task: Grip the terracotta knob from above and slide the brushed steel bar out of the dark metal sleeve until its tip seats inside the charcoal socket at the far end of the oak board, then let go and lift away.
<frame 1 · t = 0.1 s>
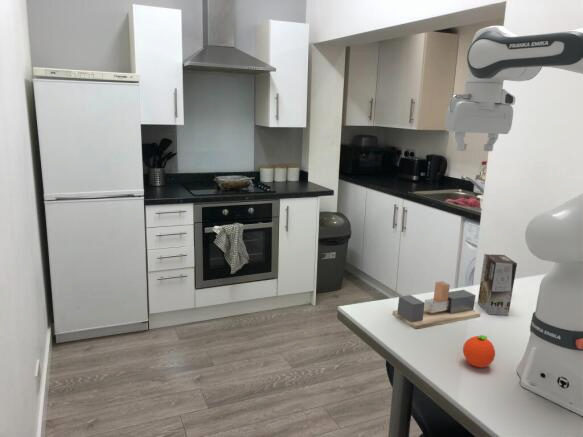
hand: (474, 151, 122), 48 cm above the table, tool pointing down, fingers open, 8 cm apart
clementine: (477, 365, 111), on the table
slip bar: (449, 295, 138), point 6 cm above the table, slide at 0.0 cm
socket block: (410, 308, 132), on the oak board, point 4 cm above the table
oak board: (436, 315, 137), on the table
coffee box: (492, 309, 144), on the table
sleeve: (457, 301, 140), on the oak board, point 3 cm above the table
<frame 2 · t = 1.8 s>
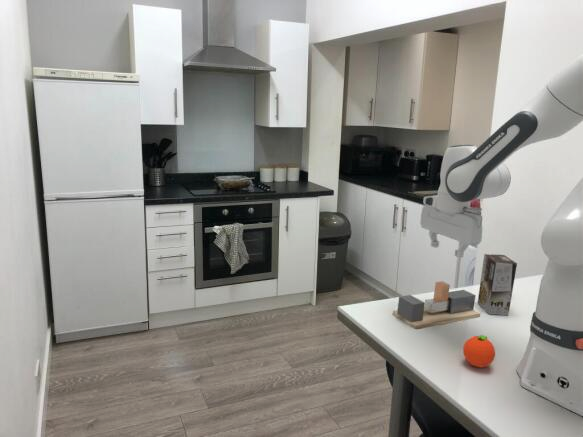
hand: (446, 251, 134), 19 cm above the table, tool pointing down, fingers open, 8 cm apart
nothing on the table moved.
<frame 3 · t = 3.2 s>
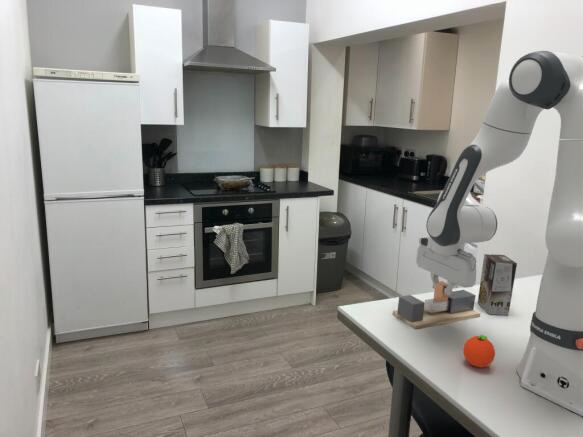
hand: (441, 291, 136), 7 cm above the table, tool pointing down, fingers closed on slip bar, 3 cm apart
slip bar: (449, 295, 138), point 6 cm above the table, slide at 0.0 cm, touching gripper
everything else where it was.
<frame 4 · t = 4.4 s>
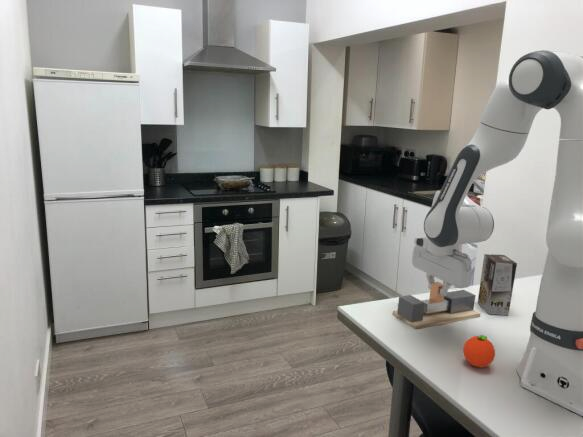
hand: (437, 292, 135), 7 cm above the table, tool pointing down, fingers closed on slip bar, 3 cm apart
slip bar: (445, 295, 137), point 6 cm above the table, slide at 1.6 cm, touching gripper
everything else where it was.
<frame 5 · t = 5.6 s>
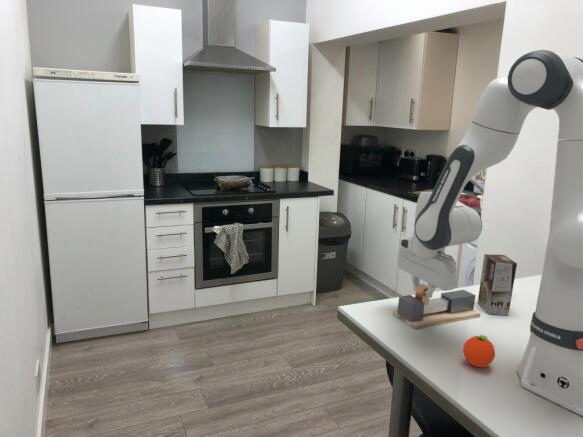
hand: (422, 294, 133), 7 cm above the table, tool pointing down, fingers closed on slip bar, 3 cm apart
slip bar: (430, 297, 135), point 6 cm above the table, slide at 7.0 cm, touching gripper
everything else where it was.
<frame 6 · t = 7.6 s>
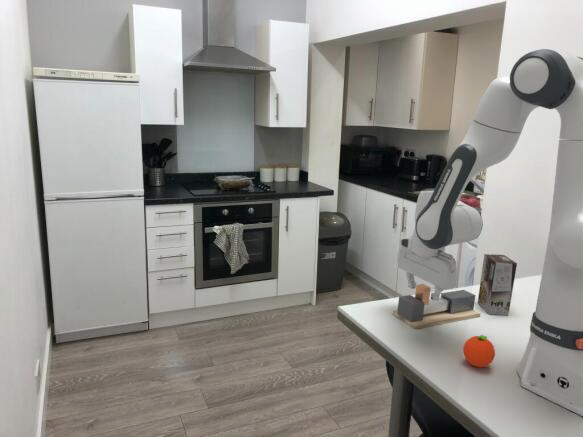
hand: (422, 293, 133), 8 cm above the table, tool pointing down, fingers open, 8 cm apart
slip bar: (430, 297, 135), point 6 cm above the table, slide at 7.0 cm
everything else where it was.
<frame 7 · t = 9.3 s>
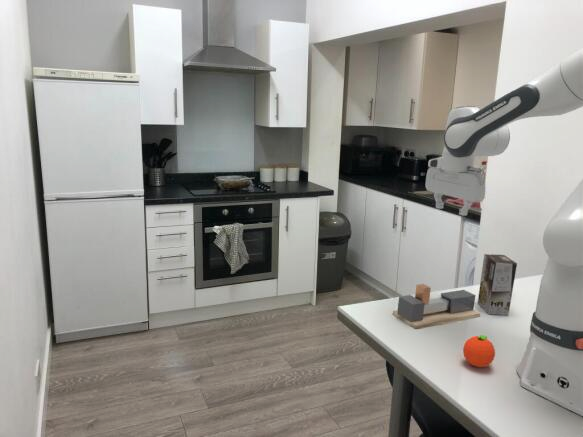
hand: (450, 211, 139), 29 cm above the table, tool pointing down, fingers open, 8 cm apart
nothing on the table moved.
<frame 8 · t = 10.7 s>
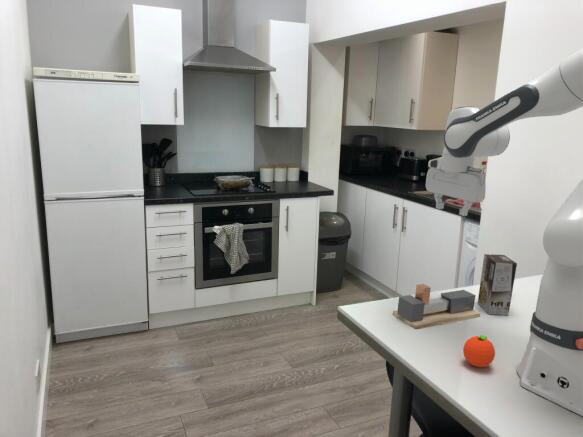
hand: (451, 211, 139), 29 cm above the table, tool pointing down, fingers open, 8 cm apart
nothing on the table moved.
at the end: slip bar slide at 7.0 cm; the gripper is holding nothing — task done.
